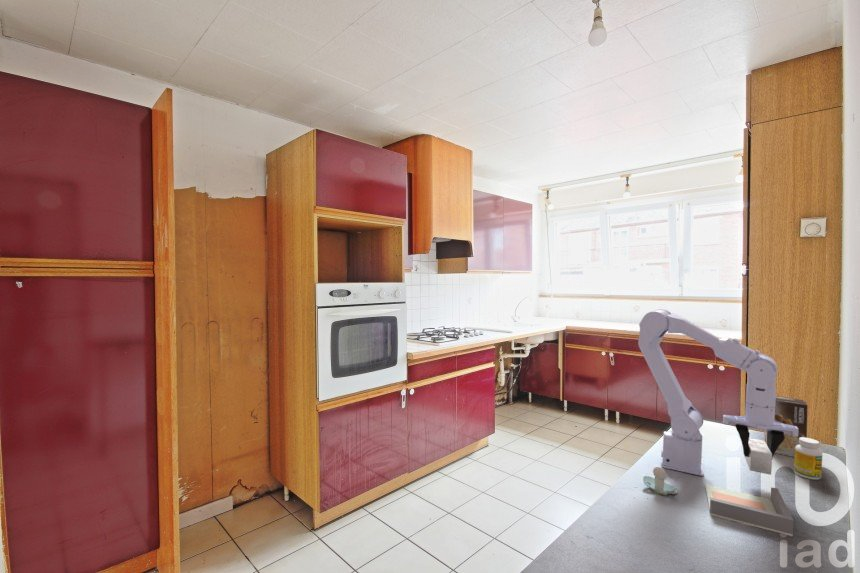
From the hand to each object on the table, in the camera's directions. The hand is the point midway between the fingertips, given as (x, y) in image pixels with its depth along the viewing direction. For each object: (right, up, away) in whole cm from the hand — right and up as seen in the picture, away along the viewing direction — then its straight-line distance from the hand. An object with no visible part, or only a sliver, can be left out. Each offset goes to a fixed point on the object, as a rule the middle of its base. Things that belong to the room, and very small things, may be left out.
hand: (757, 457), depth 102 cm
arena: (-10, -8, -9) cm, 16 cm away
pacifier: (-25, -8, -1) cm, 26 cm away
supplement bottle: (+19, -8, +7) cm, 21 cm away
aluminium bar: (0, -2, 0) cm, 2 cm away
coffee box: (+25, -7, +21) cm, 33 cm away
